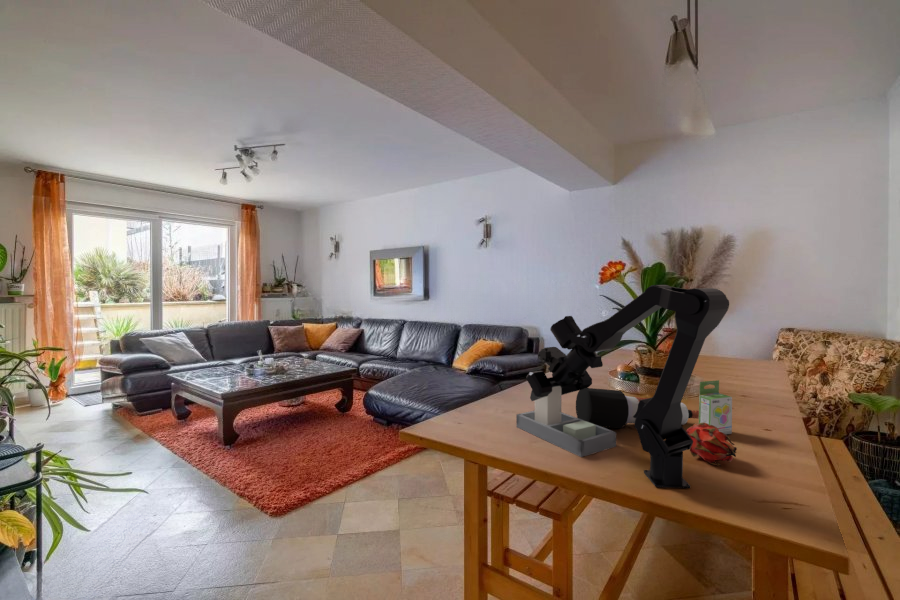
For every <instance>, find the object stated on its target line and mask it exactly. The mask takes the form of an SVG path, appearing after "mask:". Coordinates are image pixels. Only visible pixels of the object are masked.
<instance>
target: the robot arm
mask: <svg viewBox="0 0 900 600" xmlns="http://www.w3.org/2000/svg"><path fill="white" fill-rule="evenodd" d="M729 307H730V300H729V299H728V297H727V295H726V294H725V293H724V292H723V291H722V290H720V289H719V288H713V287H708V288H707V287H704V288H703V287H701V288H699V287H698V288H695V287H694V288H681V287H675V286H670V285H668V284H653V285H652V284H651V285H650V286H649V287H647V288H646V289H645V290H644V291H643V292H642V293H641V294H640V295H638V296H637V297H635V298H634V299H632V300H631V301H630V302H629V303H627V304H626V305H625V306H624V307H622V308H620V310H618V311H617V312H615V313H614V314H612V315H611V316H610V317H609V318H607V319H605V320H603V321H599V322H596V323H594V324H591V325H589V326H587V327H585V328H583V329H581V328H580V327H579V326H578V324H577V322H576V320H575V318H574V317H573V316H572V315H565V316H564V317H563V318H562V319H559V320H558V321H556V322H555V323H553V324H551V327H550V332H551V333H552V335H553V336H554V339H556V341H557V343H558V344H559V346H560V347H561V349H567V350H570V351H569V352H568V353H567V354H566V353H564V352H563V351H562V350H561V349H559V347H557V346H549V347H544V348H541V350H540V351H538V354H537V358H538V359H539V360H540V361H541V362H542V363H545V364H547V365H548V368H547V369H548V371H549V373H552V374H551V377H548V376H547V375H546V373H545V371H543V370H535V371H529V372H528V374H527V375H526V377H525V379H526V381H527V383H528V385H529V386H530V388H531V392H530V397H529V399H530V400H531V402H535V400H538V399H540V398H543V397H546V396H548V394H550V393H551V392H552V387H557V386H560V387H561V388H562V390H561V396H564V395H567V394H572V393H574V392H575V393H576V392H579V390H582V389H584V388H590V387H591V386H592V384H593V378H592V376H590V374H589V373H588V371H587V370H588V369H589V367H590V368H591V369H596V368H597V369H598V368H602V367H603V364H604V363H603V361H602V356H601V355H598V354H597V352H598V353H599V352H606V351H610V350H612V349H614V348H615V347H616V346H617V345H618V344H619V343H620V342H621V340H622V338H623V336H624V334H626V333H627V331H629V330H631V329H632V328H634V327H635V326H637V325H638V324H640V323H641V322H643V321H644V320H645V319H647V318H648V317H650V316H651V315H653V314H654V313H656V312H657V311H658V310H660V309H662V308H663V309H665V310H668V311H673V312H674V320H675V325H676V333H675V337H674V339H673V342H672V344H671V347H670V351H669V353H668V356H667V358H666V361H665V364H664V366H663V367H664V368H663V370H662V372H661V375H660V378H659V381H658V384H657V386H656V389H655V392H654V394H653V395H652V397H646V398H647V399H643V400H640V401H639V404H638V409H637V412H636V414H635V415H634V416H633V417H634V418H636V419H635V423H634V428H635V429H636V432H637V434H638V438H639V442H640V444H641V448H642V451H643V452H644V451H645V452H647V453H648V454H649V455H650V461H649V463H650V464H649V465H650V468H649V469H643V474H644V475H645V477H646V478H647V479H648V480H649V481H650V482H651V483H652V484H653V486H654V487H656V488H669V489H670V488H671V489H672V488H673V489H691V485H690V483H688V482H687V480H685V478H684V477H683V474H684V470H683V468H684V467H683V465H684V451H688V450H689V451H690V448H691V446H692V444H693V440H692V438H691V437H690V436H689V435H688V433H687V432H686V429H685V428H684V427H683V426H682V425H681V423H682V417H683V415H682V410H681V403H682V400H683V397H684V394H685V393H686V390H687V388H688V384H689V382H690V380H691V377H692V374H693V372H694V369H695V367H696V364H697V361H698V358H699V356H700V353H701V351H702V348H703V346H704V343H705V341H706V339H707V337H708V336H710V334H711V333H712V332H714V330H715V329H716V328H718V326H719V325H720V323H721V322H722V320H723V319H724V317H725V316H726V314H727V312H728V310H729Z"/></svg>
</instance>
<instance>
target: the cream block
mask: <svg viewBox="0 0 900 600" xmlns="http://www.w3.org/2000/svg"><path fill="white" fill-rule="evenodd" d="M561 390H562V388H561V387H560V386H557V387H552V392H551V393H550V394H548V396H546V397H543V398H540V399H538V400H535V401H534V411H535V421H538V422H540V423H542V424H545V425H551V424H556V423H560V422H561V412H562V395H561Z"/></svg>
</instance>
